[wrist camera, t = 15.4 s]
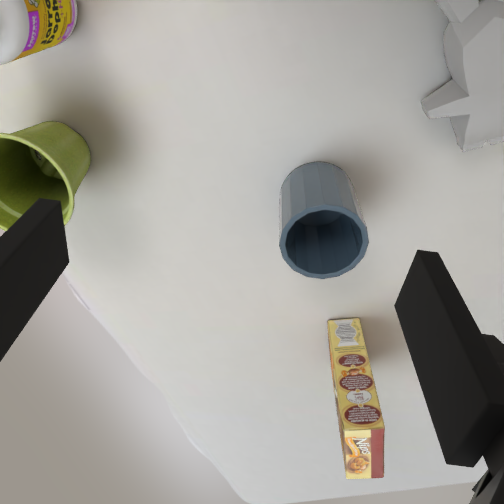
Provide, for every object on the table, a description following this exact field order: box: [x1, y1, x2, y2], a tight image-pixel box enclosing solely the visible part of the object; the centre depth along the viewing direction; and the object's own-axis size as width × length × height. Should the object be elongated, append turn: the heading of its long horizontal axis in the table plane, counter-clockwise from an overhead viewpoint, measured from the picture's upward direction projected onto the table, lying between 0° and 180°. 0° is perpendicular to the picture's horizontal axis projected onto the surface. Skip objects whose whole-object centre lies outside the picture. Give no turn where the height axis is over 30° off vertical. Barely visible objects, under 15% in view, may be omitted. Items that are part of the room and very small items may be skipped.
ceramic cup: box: [279, 162, 369, 279], centre depth 40 cm, size 7×7×9 cm
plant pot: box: [0, 121, 91, 231], centre depth 39 cm, size 9×9×9 cm
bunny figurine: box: [421, 0, 504, 152], centre depth 34 cm, size 10×5×15 cm
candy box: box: [327, 318, 385, 479], centre depth 49 cm, size 9×4×15 cm, turn 9°
